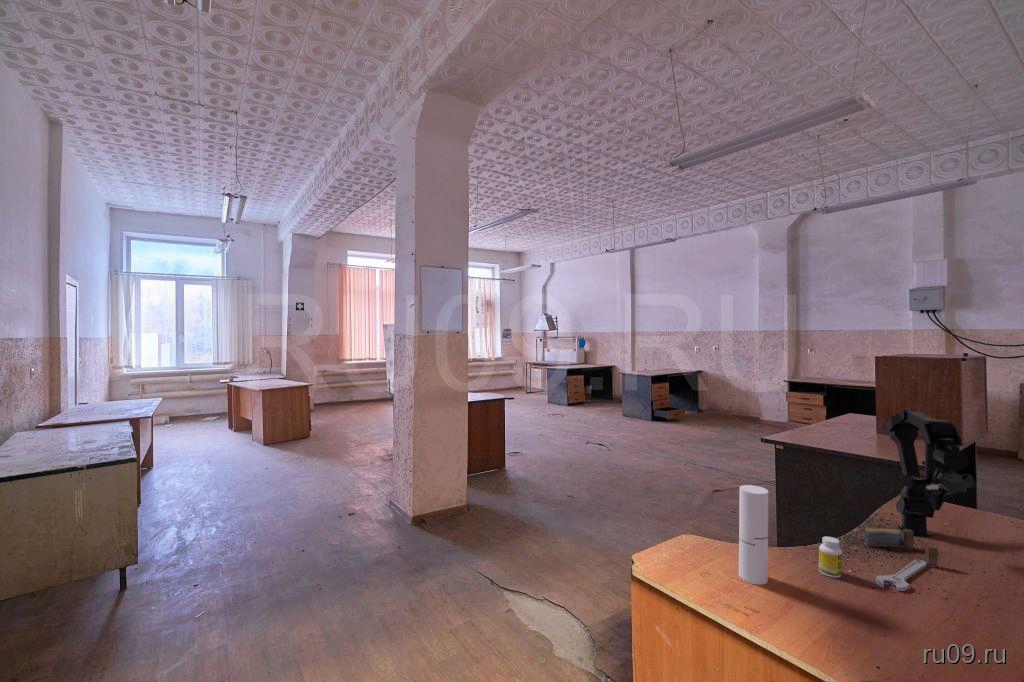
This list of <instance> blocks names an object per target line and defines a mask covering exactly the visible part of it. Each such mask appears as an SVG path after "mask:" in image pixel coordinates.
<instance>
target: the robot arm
mask: <svg viewBox="0 0 1024 682" xmlns="http://www.w3.org/2000/svg"><path fill="white" fill-rule="evenodd" d="M885 428H886V429H885V430H886V431H887V432H888V434H889V438H890V439H891V440H892V441H893V442H894V443H895V445H896V447H897V452H898V457H899V463H900V469H901V473H902V475H900V476H899V478H898V484H900V485H902V486H903V488H902V489H901V491H900V497H899V498H898V500H897V501H896V503H895V509H896V511H897V512H898V513H899V514H901V516H902V517H901V525H897V526H896V527H897V529H900V530H903V529H910V530H912V531H914V535H913V536H921V537H922V536H925V535H926V536H925V537H931V536H932V533H930V532H928V523H927V518H931V519H933V518H934V516H935V511H940V510H941V508H942V506H943V504H944V503H945V501H946V499H947V498H948V496H949V495H951V494H955V493H957V492H959V493H965V492H967V491H969V492H977V486H978V485H977V483H976V482H975V481H974V477H973V476H972V475H970V474H961V473H960V474H957V473H956V472H955V471H957V470H958V471H959V470H962V469H964V468H966V467H967V465H968V464H969V459H968V456H967V455H966V454H965V453H964V452H963V451H961V450H960V447H961V446H962V445H963V444H962V438H961V435H960V433H959V431H958V430H957V427H956V426H955V424H954V423H953V422H952V421H950V420H944V419H934V418H933V417H931V416H929V415H926V414H925V413H923V412H922V411H920V410H917V409H907V408H905V409H901V410H900V411H899V413H896V414H895V415H893V416H890V417H889V419H888V420H887V421H886V426H885ZM919 433H920V434H921V435H922V437H923V438H924V439H923V443H925V444H924V445H925V446H924V447H925V449H924V460H922V461H921V465H923V466H924V473H921V472H920V471H921V470H920V467H919V461H918V457H917V453H916V448H915V442H916V440H917V438H918V437H919ZM928 535H930V536H928Z"/></svg>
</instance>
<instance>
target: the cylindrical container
mask: <svg viewBox="0 0 1024 682" xmlns="http://www.w3.org/2000/svg"><path fill="white" fill-rule="evenodd" d="M738 502H739V503H738V504H739V505H738V506H739V510H738V511H739V512H738V513H739V514H738V515H739V516H738V517H739V520H738V521H739V523H738V526H739V527H738V528H739V530H738V533H739V534H738V535H739V537H738V543H739V544H738V550H739V551H738V576H740V577H741V578H742V579H743V580H742V579H741V578H740V577H739V578H740V579H741V580H742V581H744V580H745V581H744V582H746V581H747V582H746V583H748V582H749V584H752V585H758V586H762V585H766V584H767V583H768V579H769V576H768V573H769V571H768V570H769V566H768V565H769V563H768V562H769V561H768V560H769V556H768V555H769V490H768V489H767V488H765V487H763V486H760V485H759V486H758V485H753V484H752V485H751V484H745V485H741V486H739V500H738Z"/></svg>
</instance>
